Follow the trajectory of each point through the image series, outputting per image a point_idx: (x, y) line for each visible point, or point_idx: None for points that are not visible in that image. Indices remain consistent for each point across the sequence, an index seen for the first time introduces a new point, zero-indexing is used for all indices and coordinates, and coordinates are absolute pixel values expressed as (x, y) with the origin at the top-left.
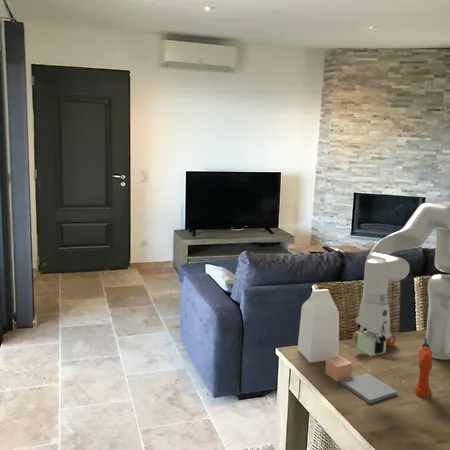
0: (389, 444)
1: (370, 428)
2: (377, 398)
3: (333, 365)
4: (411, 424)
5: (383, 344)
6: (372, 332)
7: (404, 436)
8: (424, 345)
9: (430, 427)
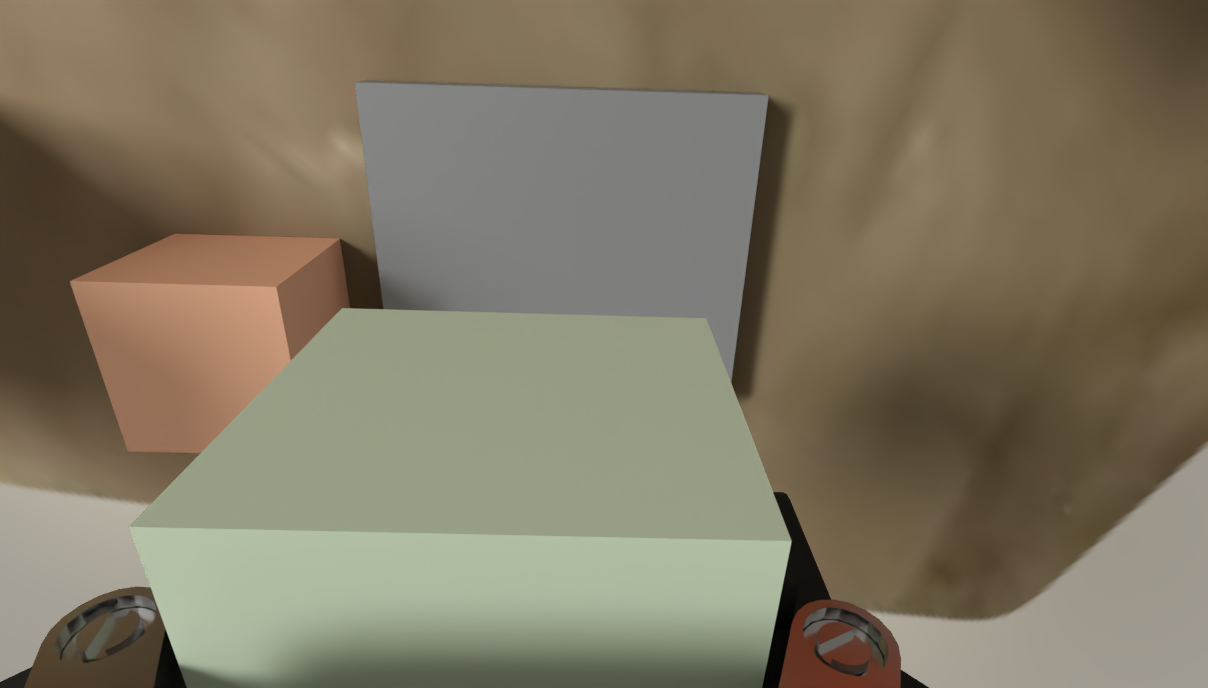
0: (1063, 565)
1: (908, 553)
2: (736, 327)
3: None
4: (1068, 329)
5: (823, 586)
6: (371, 675)
7: (1093, 457)
8: None
9: (1191, 243)
